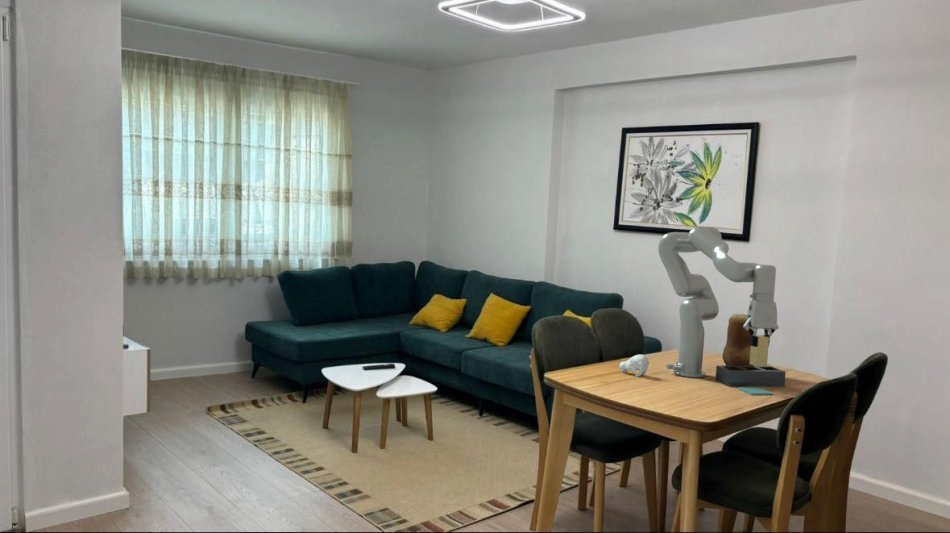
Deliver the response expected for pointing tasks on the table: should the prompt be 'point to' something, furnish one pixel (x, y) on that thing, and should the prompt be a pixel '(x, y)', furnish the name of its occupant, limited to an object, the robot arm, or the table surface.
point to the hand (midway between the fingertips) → (759, 345)
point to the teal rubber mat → (755, 391)
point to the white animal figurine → (635, 365)
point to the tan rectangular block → (759, 351)
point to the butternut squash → (737, 342)
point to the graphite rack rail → (750, 376)
